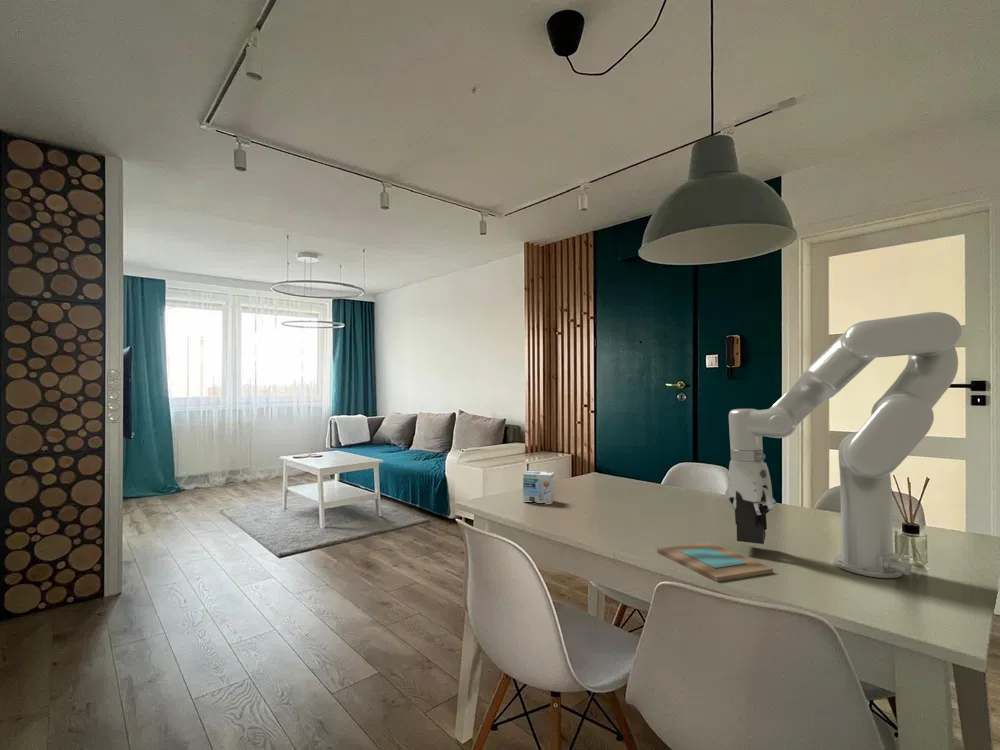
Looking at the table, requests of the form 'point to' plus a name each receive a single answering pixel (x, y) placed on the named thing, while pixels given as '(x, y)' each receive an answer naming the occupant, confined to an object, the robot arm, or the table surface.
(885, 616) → the table surface
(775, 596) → the table surface
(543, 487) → the light bulb box
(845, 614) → the table surface
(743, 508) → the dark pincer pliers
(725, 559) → the wooden board
